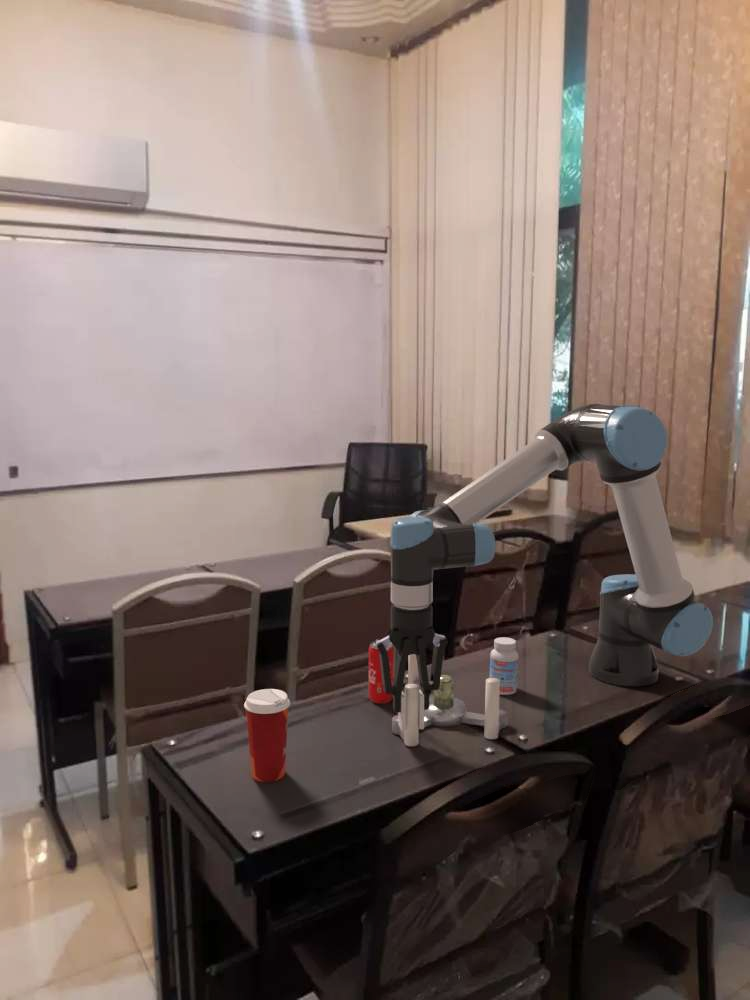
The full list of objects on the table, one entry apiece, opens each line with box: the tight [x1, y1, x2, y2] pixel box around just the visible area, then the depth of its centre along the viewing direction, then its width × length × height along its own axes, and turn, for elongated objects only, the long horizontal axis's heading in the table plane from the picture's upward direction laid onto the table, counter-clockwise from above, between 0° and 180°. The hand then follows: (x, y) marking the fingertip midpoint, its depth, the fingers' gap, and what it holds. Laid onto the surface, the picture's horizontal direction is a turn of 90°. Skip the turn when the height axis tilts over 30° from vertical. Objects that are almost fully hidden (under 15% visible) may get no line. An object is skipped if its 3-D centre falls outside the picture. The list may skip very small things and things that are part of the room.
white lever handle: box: [407, 654, 434, 693], centre depth 168 cm, size 9×4×11 cm, turn 39°
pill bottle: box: [489, 636, 520, 696], centre depth 169 cm, size 6×6×11 cm
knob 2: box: [483, 677, 508, 740], centre depth 150 cm, size 9×4×11 cm, turn 159°
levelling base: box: [424, 674, 485, 728], centre depth 158 cm, size 17×14×8 cm
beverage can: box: [368, 641, 395, 704], centre depth 164 cm, size 5×5×12 cm
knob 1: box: [391, 683, 420, 747], centre depth 147 cm, size 9×4×11 cm, turn 17°
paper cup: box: [243, 688, 291, 783], centre depth 133 cm, size 8×8×14 cm
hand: (411, 726), depth 144 cm, fingers open, 3 cm apart
